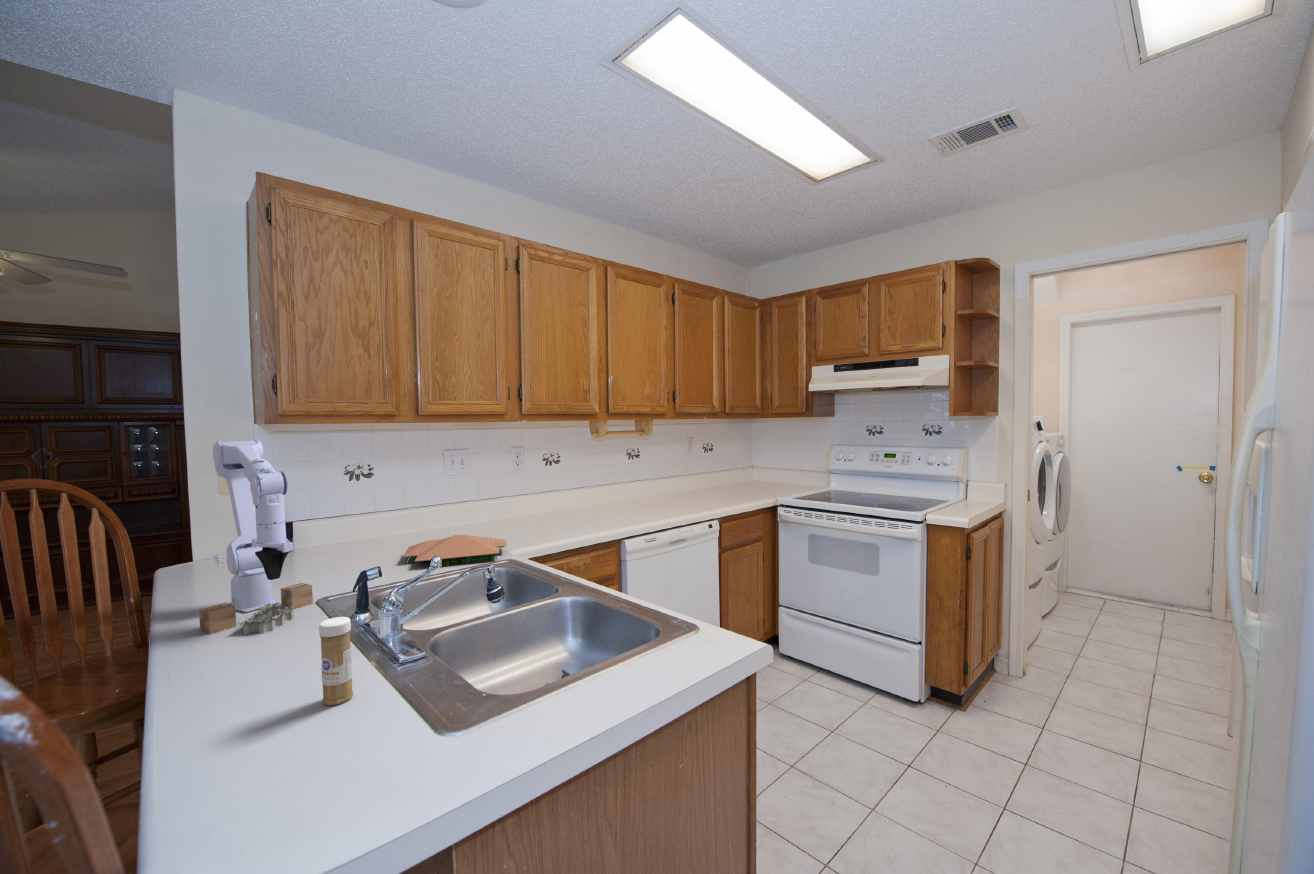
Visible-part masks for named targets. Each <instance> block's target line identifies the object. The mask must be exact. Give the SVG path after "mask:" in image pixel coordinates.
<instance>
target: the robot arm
mask: <svg viewBox="0 0 1314 874" xmlns="http://www.w3.org/2000/svg"><path fill="white" fill-rule="evenodd" d="M212 458H213V464H214V465H213V466H214V468H215V472H216V476H218V477H221V478H223V479H225V483H227V488H228V491H229V497H230V502H231V507H232V512H233V518H234V524H235V529H236V535H237V536H236V538H235V539H234V540H232V541H231V542H230V543H229V544H228V545H227V547H226V550H225V551H226V564H227V565H226V566H227V569H228V571H229V573H230V574H232V575H233V576H232V578H231V581H230V597H231V598H230V599H231V605H234V606H235V611H240V612H242V613H249V612H252V611H257V610H259V609H260V608H261V607H262V606H264V605H265V604H266V605H267V604H268V603H270V605H277V604H279V603H281V602H280V601H281V600H278V599H273V590H272V589H273V587H272V581H273V580H277V579H280V578H281V576H282V570H283V566H284V562H285V560H286V558H287V556H288V554H289V553H290V552H293V551H294V542H291V541H290V540H289V538H287V530H286V509H285V508H286V507H285V495H286V494H287V492H288V487H289V486H288V485H289V484H288V478H287V476H286V475H287V474H286V473H285V472H284V471H283V470H278V471H276V469H275V468H274V467H273V465H271V463H270V462H269V461H268V460H266V459H264V447H263V444H262V441H260V440H259V439H254V440H238V441H237V440H235V441H234V440H233V441H216V442H215V443H214V444H213V447H212Z"/></svg>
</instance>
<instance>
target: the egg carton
mask: <svg viewBox="0 0 1314 874" xmlns="http://www.w3.org/2000/svg"><path fill="white" fill-rule="evenodd" d="M293 608H296V606H295V607H292V606H291V608H287V607H284V608H283V609H280V607H279V605H277V604H273V605H270V603H268V604H267V605H266V604H265V605H264V606H262V607H261V608H260V609H258V611H257V612H254V613H253V614H252V615H251V616H249V617H247V618H245V620H244V621H242V622H238V625H240V626H242V628H243V629H242V633H244V635H249V633H250V634H252V633H257V631H259V632H258V633H259V634H265V632H266V633H269V632H274V631H276V627H279V626H280V625H281V626H283V624H284V625H285V624H286V622H287V621H286V620H288V621H292V620H294V619H295V611H294V610H293ZM291 619H292V620H291ZM275 626H276V627H275ZM273 630H274V631H273ZM268 631H269V632H268Z"/></svg>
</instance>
